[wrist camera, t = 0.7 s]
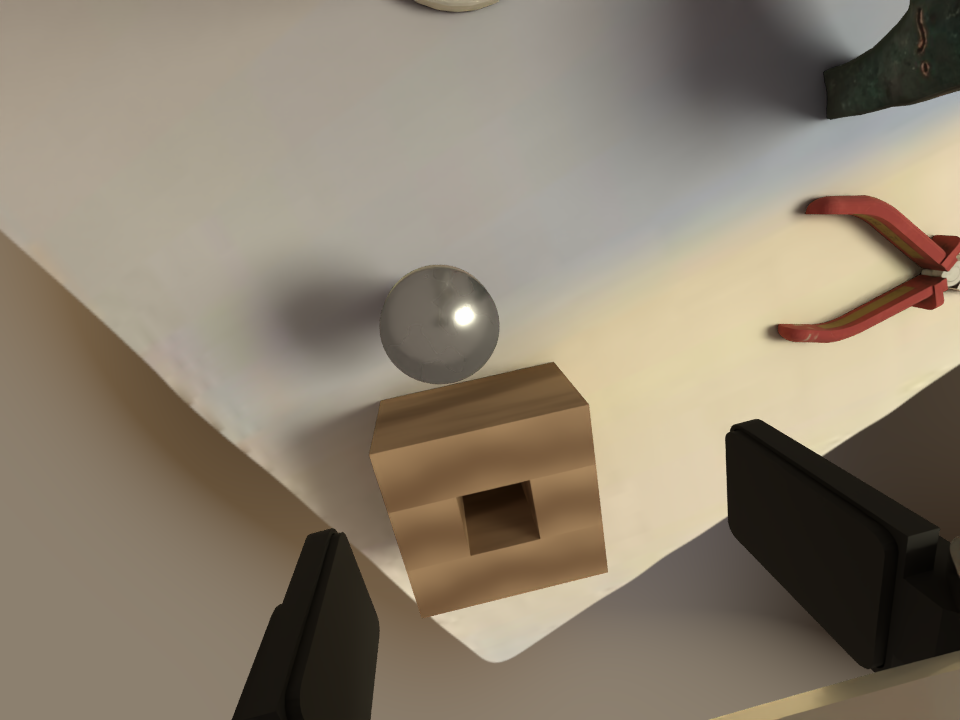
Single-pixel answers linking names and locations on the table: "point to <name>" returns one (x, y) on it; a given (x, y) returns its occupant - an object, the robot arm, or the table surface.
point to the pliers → (921, 291)
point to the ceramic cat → (901, 63)
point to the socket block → (490, 487)
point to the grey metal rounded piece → (439, 324)
